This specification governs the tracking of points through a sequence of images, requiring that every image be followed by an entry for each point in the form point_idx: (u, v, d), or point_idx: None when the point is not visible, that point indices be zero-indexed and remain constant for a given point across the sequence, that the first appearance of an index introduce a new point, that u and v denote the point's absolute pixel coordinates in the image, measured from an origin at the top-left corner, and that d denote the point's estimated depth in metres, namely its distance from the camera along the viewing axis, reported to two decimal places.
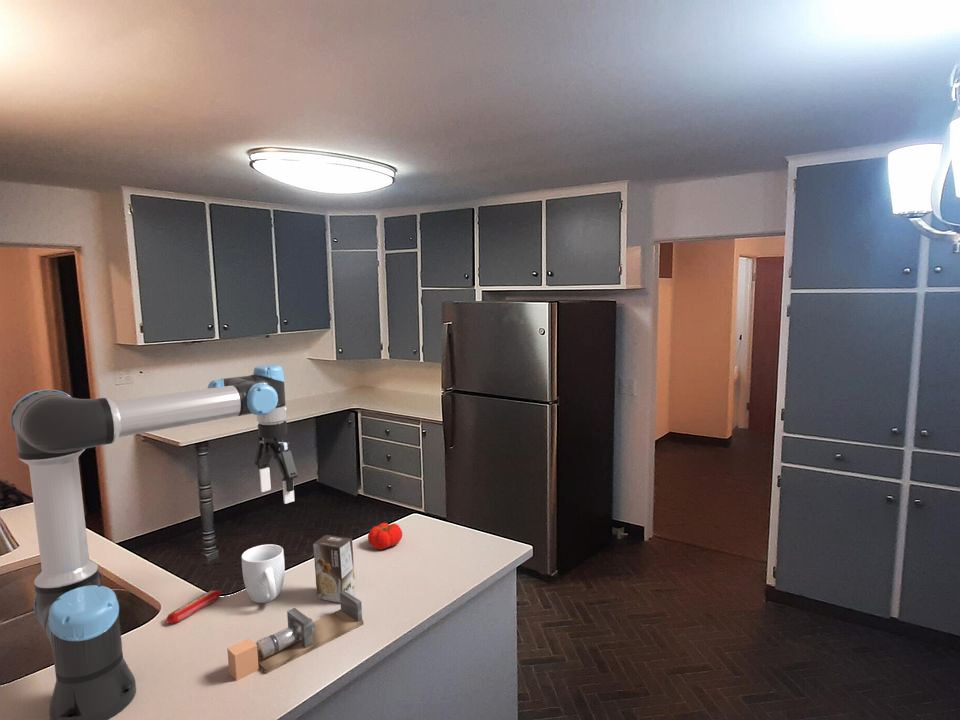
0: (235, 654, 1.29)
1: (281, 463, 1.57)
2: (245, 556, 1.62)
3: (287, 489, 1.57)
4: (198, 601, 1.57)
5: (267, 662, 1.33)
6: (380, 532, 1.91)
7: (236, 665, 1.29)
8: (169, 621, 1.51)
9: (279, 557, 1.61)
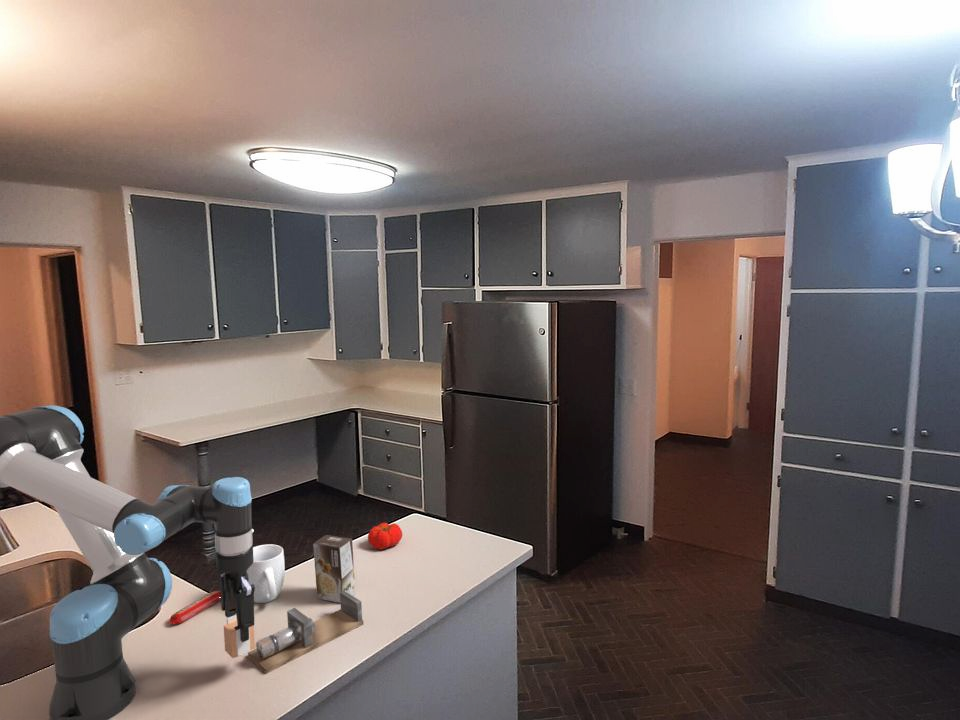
0: (231, 631, 1.28)
1: (239, 607, 1.27)
2: None
3: (241, 639, 1.28)
4: (201, 602, 1.57)
5: (267, 662, 1.33)
6: (380, 532, 1.91)
7: (232, 642, 1.28)
8: (172, 622, 1.50)
9: (279, 557, 1.61)
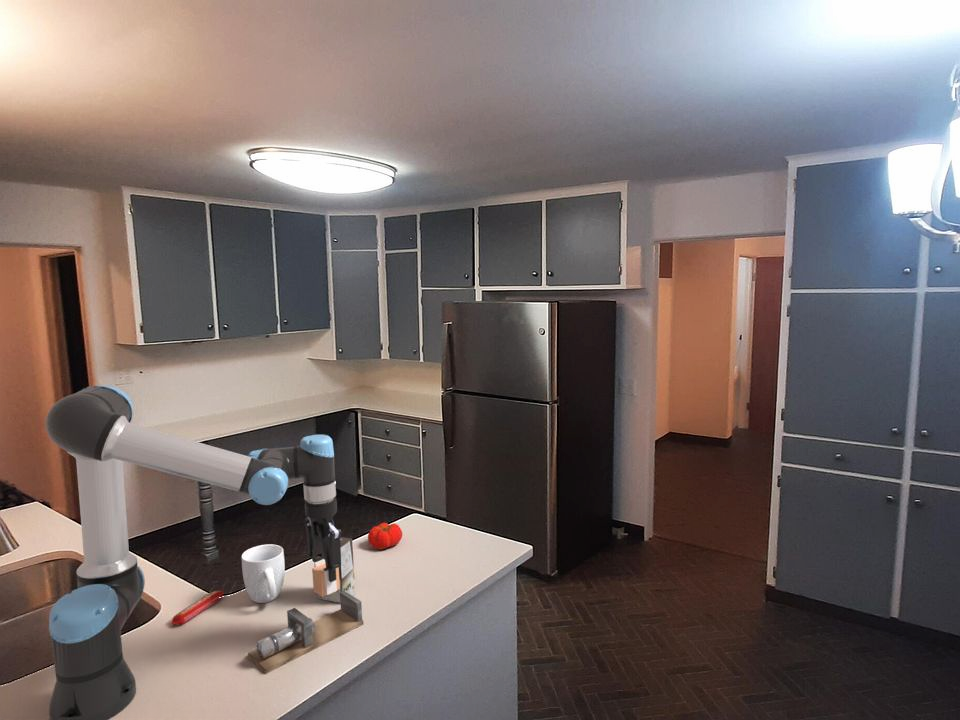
0: (320, 572, 1.43)
1: (327, 550, 1.42)
2: (245, 556, 1.62)
3: (329, 579, 1.43)
4: (202, 602, 1.57)
5: (267, 662, 1.33)
6: (380, 532, 1.91)
7: (322, 582, 1.43)
8: (175, 623, 1.50)
9: (279, 557, 1.61)
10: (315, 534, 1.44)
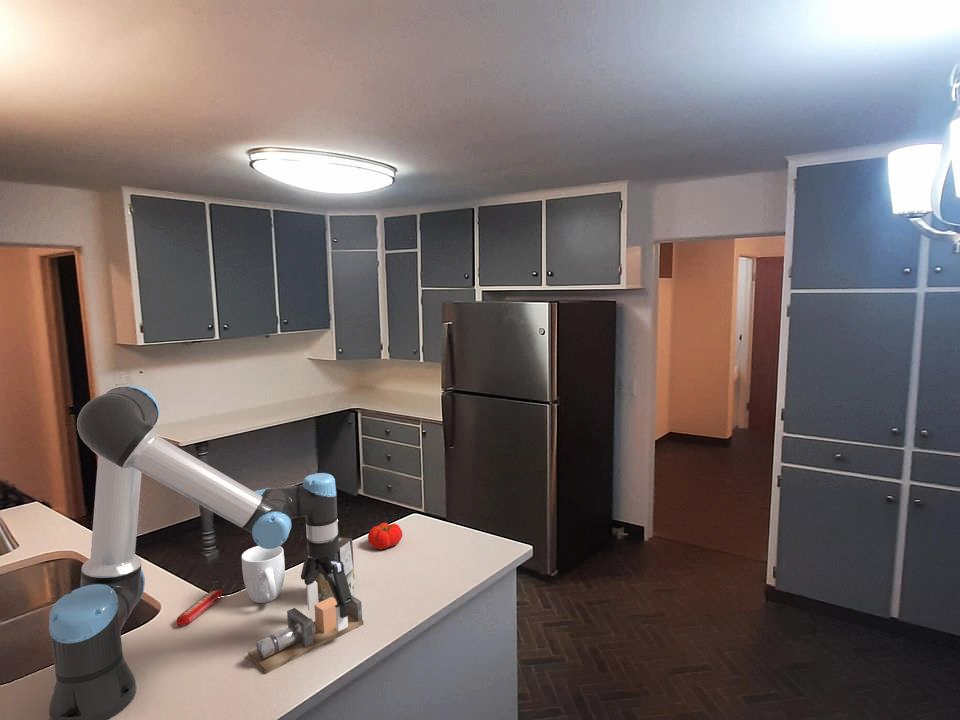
0: (323, 609, 1.44)
1: (334, 586, 1.41)
2: (245, 556, 1.62)
3: (341, 615, 1.41)
4: (204, 601, 1.57)
5: (267, 662, 1.33)
6: (380, 532, 1.91)
7: (324, 619, 1.44)
8: (181, 623, 1.50)
9: (279, 557, 1.61)
10: (314, 569, 1.46)
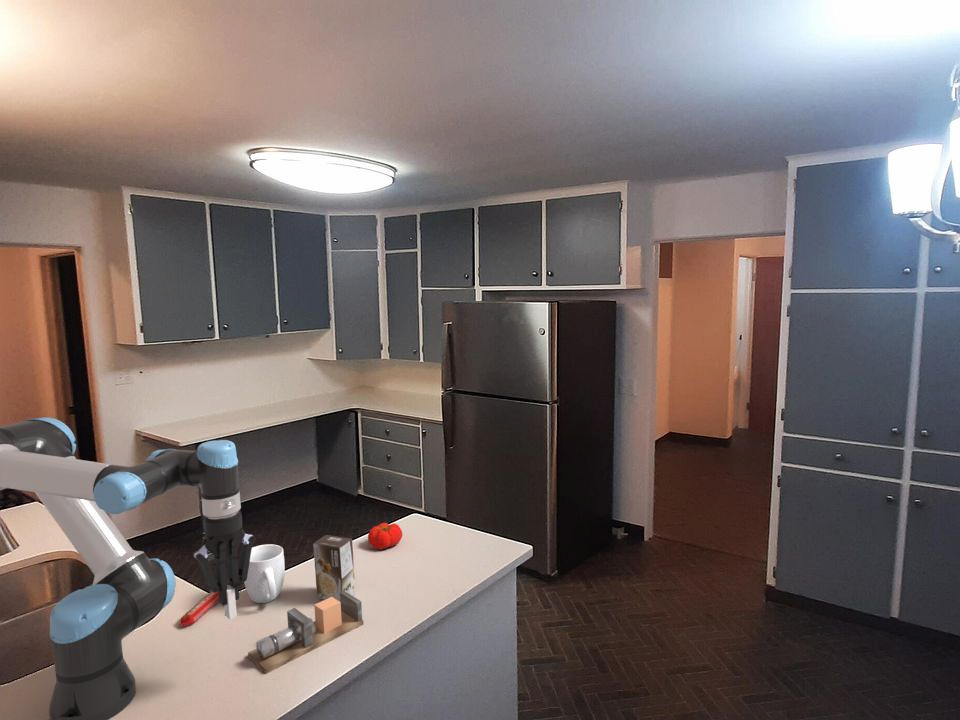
0: (323, 609, 1.44)
1: (216, 569, 1.27)
2: None
3: None
4: (207, 601, 1.57)
5: (267, 662, 1.33)
6: (380, 532, 1.91)
7: (324, 619, 1.44)
8: (185, 623, 1.49)
9: (279, 557, 1.61)
10: None
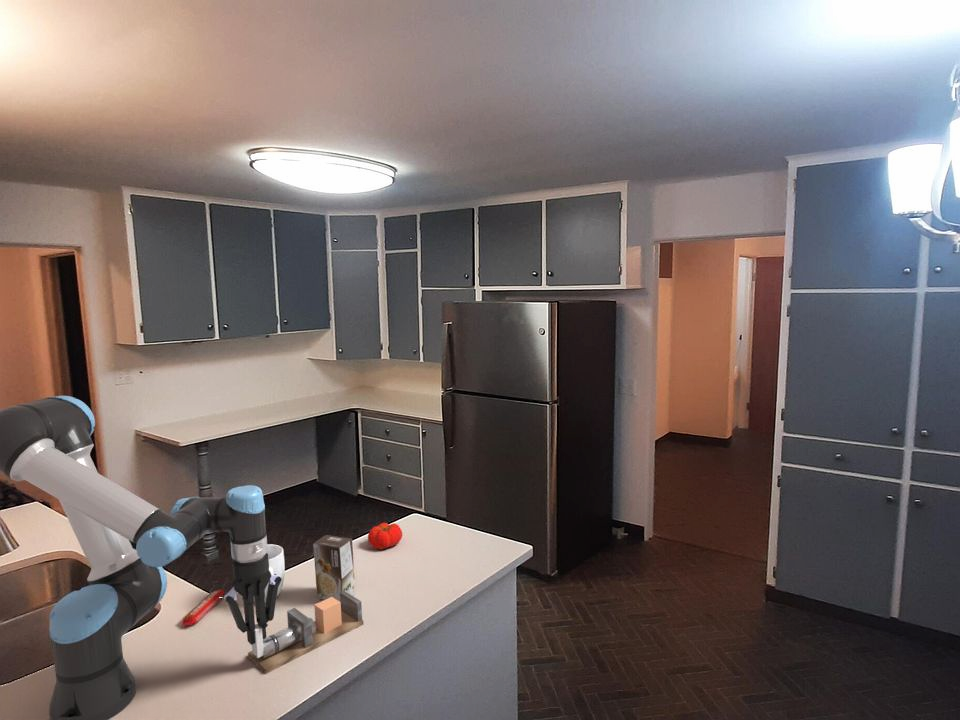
0: (323, 609, 1.44)
1: (244, 609, 1.32)
2: None
3: None
4: (208, 601, 1.57)
5: (267, 662, 1.33)
6: (380, 532, 1.91)
7: (324, 619, 1.44)
8: (188, 623, 1.49)
9: (279, 557, 1.61)
10: None
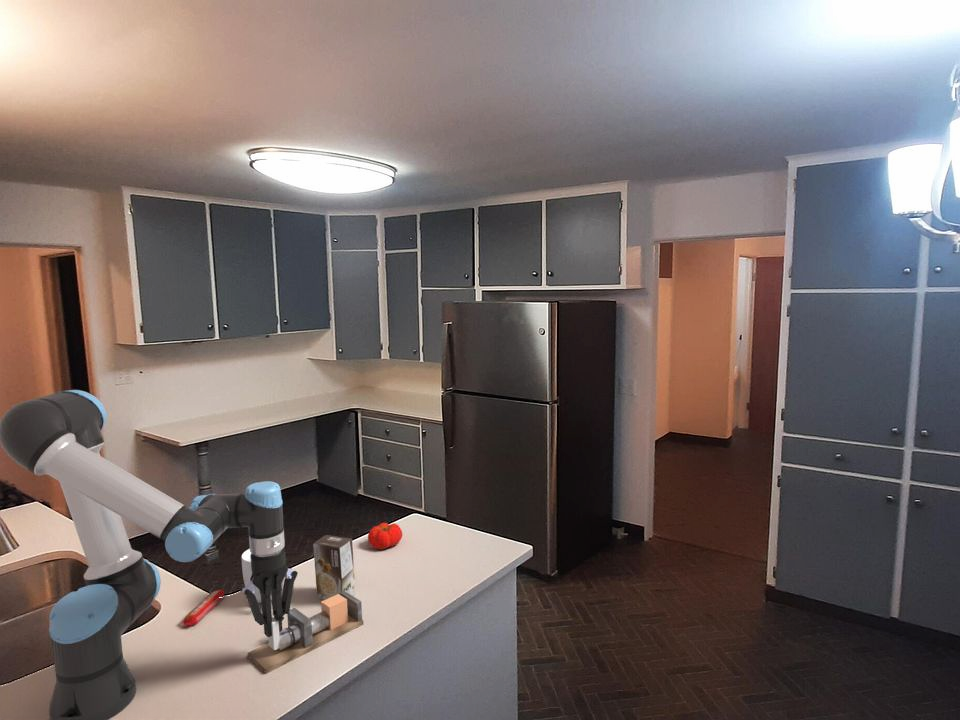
0: (329, 606, 1.45)
1: (261, 602, 1.35)
2: (245, 556, 1.62)
3: None
4: (209, 601, 1.57)
5: (267, 662, 1.33)
6: (380, 532, 1.91)
7: (330, 616, 1.45)
8: (189, 623, 1.49)
9: None
10: None
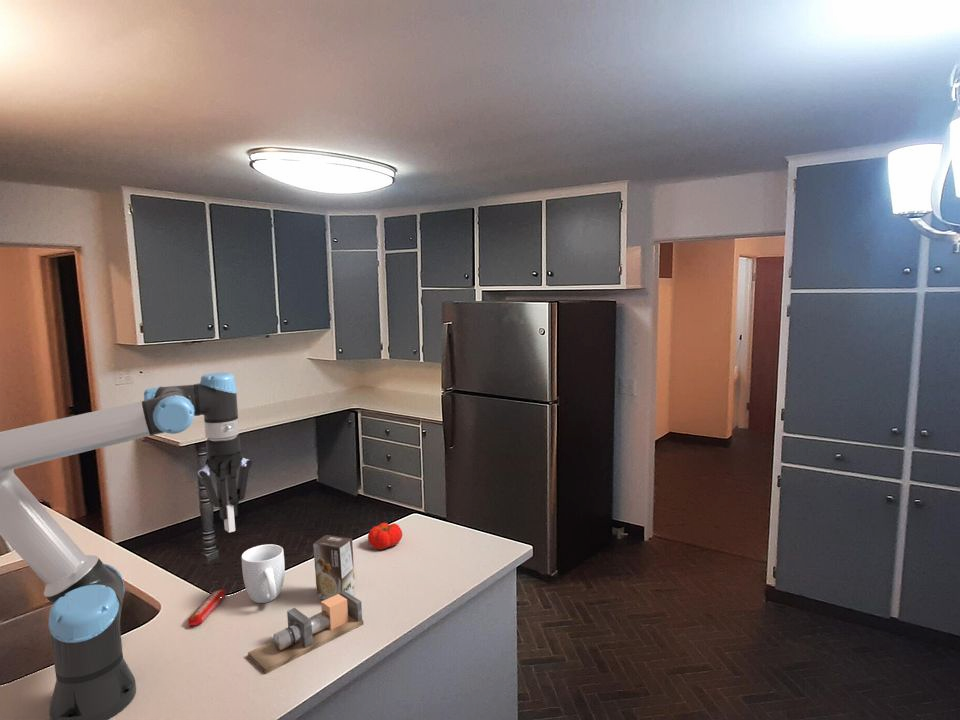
0: (329, 606, 1.45)
1: (217, 487, 1.43)
2: (245, 556, 1.62)
3: None
4: (212, 601, 1.57)
5: (267, 662, 1.33)
6: (380, 532, 1.91)
7: (331, 616, 1.45)
8: (194, 623, 1.49)
9: (279, 557, 1.61)
10: None
